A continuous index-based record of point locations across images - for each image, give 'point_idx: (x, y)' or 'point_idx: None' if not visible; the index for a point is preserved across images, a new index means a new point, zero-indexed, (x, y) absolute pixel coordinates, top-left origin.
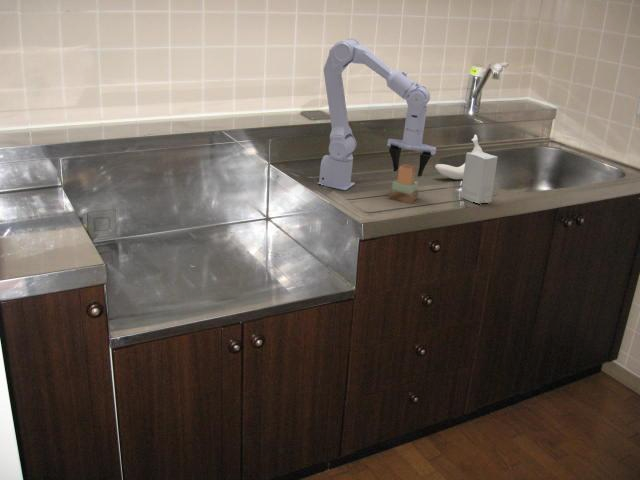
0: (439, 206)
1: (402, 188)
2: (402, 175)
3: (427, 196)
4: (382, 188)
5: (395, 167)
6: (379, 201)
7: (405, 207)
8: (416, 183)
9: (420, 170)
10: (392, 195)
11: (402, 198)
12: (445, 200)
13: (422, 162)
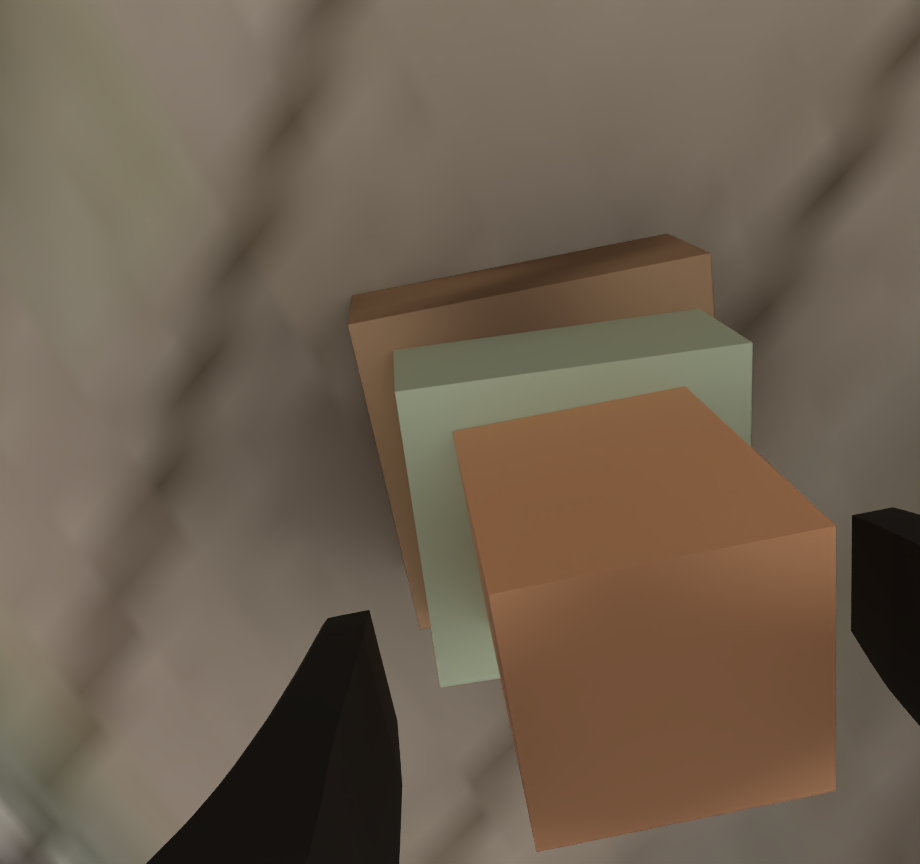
0: (48, 504)
1: (545, 347)
2: (655, 460)
3: None
4: None
5: (917, 538)
6: (724, 11)
7: (322, 85)
8: (429, 609)
9: (300, 686)
10: (639, 253)
11: (484, 281)
12: (139, 733)
13: (219, 855)
